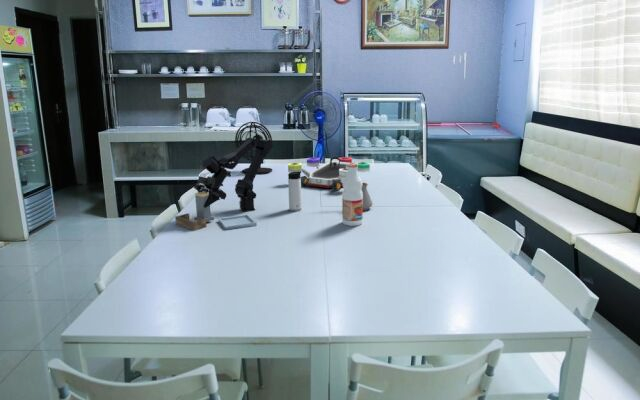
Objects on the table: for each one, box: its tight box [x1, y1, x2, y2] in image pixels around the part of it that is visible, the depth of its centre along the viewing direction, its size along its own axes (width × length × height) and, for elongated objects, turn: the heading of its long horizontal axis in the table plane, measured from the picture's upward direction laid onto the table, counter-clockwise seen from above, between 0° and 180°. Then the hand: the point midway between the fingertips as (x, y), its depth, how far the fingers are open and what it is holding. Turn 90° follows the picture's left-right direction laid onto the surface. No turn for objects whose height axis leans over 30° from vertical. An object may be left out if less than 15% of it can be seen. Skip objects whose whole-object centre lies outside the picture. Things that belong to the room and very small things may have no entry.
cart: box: [287, 156, 371, 192], centre depth 319 cm, size 45×39×16 cm
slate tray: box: [217, 214, 258, 231], centre depth 243 cm, size 15×15×2 cm
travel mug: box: [287, 171, 302, 212], centre depth 261 cm, size 6×7×20 cm
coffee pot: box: [331, 179, 374, 211], centre depth 263 cm, size 21×12×15 cm, turn 79°
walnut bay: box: [174, 213, 207, 231], centre depth 240 cm, size 7×14×4 cm, turn 49°
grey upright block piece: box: [193, 192, 215, 223], centre depth 244 cm, size 6×7×13 cm
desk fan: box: [234, 121, 273, 175], centre depth 352 cm, size 27×18×35 cm, turn 74°
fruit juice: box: [341, 162, 364, 227], centre depth 237 cm, size 9×9×28 cm
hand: (200, 206), depth 243 cm, fingers closed on grey upright block piece, 5 cm apart
